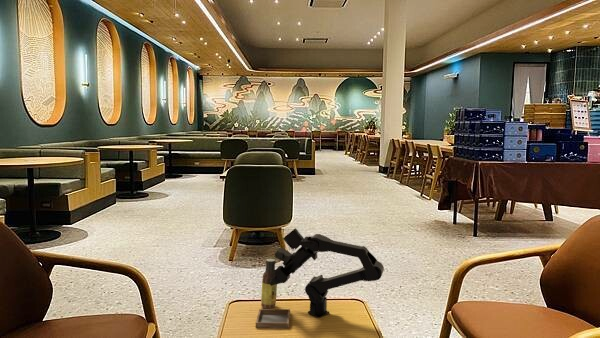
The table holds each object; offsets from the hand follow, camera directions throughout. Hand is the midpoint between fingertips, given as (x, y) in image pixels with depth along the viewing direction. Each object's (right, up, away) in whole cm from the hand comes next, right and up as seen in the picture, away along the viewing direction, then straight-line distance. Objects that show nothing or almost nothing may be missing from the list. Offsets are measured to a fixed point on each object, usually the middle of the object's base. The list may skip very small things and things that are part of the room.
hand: (274, 280), depth 187 cm
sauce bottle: (-3, -11, +2) cm, 12 cm away
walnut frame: (0, -13, -11) cm, 17 cm away
